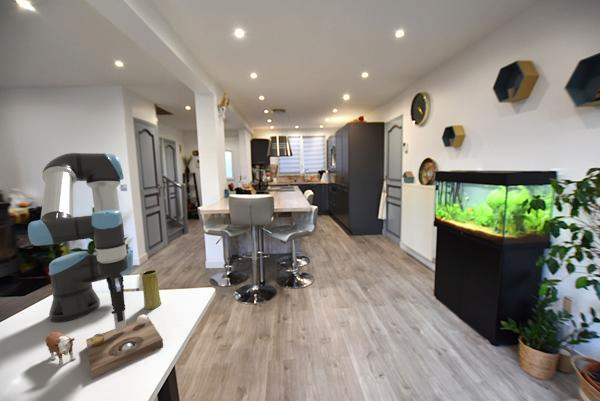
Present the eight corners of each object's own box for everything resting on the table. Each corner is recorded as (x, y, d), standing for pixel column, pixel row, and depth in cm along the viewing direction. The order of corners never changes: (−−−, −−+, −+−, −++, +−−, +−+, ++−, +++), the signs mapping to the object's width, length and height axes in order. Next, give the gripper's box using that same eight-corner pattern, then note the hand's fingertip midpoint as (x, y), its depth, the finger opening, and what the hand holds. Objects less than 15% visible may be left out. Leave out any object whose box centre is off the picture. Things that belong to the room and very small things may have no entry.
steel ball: (119, 345, 74) (120, 347, 71) (131, 340, 76) (133, 342, 74) (120, 356, 73) (122, 358, 71) (133, 350, 76) (135, 353, 73)
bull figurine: (60, 374, 67) (56, 346, 66) (45, 356, 74) (41, 331, 73) (81, 363, 71) (77, 336, 70) (65, 347, 78) (61, 323, 77)
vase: (151, 301, 105) (148, 269, 104) (164, 301, 104) (161, 269, 103) (140, 309, 99) (136, 275, 98) (154, 309, 98) (150, 275, 97)
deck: (87, 346, 78) (86, 339, 77) (148, 323, 89) (147, 316, 89) (92, 379, 65) (91, 370, 65) (163, 346, 77) (162, 338, 76)
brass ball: (91, 344, 75) (89, 334, 75) (104, 339, 77) (103, 329, 77) (91, 349, 73) (90, 339, 72) (105, 344, 75) (104, 334, 75)
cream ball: (136, 324, 85) (134, 315, 84) (146, 320, 87) (145, 311, 87) (138, 328, 82) (137, 319, 82) (149, 323, 85) (148, 315, 84)
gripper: (95, 257, 80) (103, 325, 83) (99, 267, 71) (109, 344, 73) (123, 252, 85) (130, 316, 88) (130, 260, 76) (139, 332, 78)
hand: (121, 328), depth 80 cm, fingers closed
